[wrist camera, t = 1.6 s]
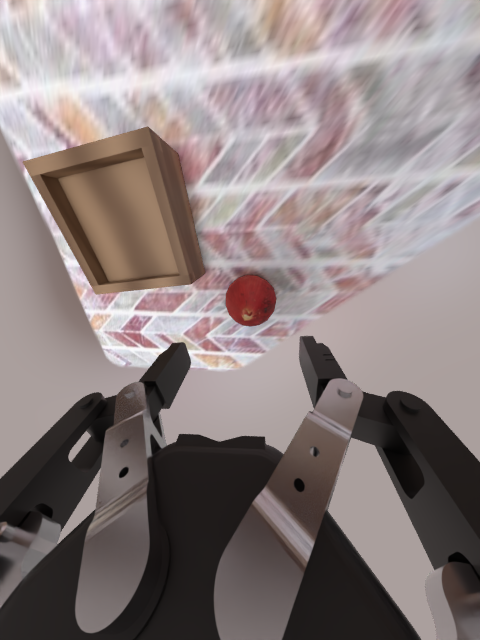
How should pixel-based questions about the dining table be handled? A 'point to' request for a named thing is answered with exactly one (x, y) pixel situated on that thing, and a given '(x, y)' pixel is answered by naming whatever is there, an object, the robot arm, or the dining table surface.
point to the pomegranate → (250, 300)
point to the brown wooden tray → (122, 211)
